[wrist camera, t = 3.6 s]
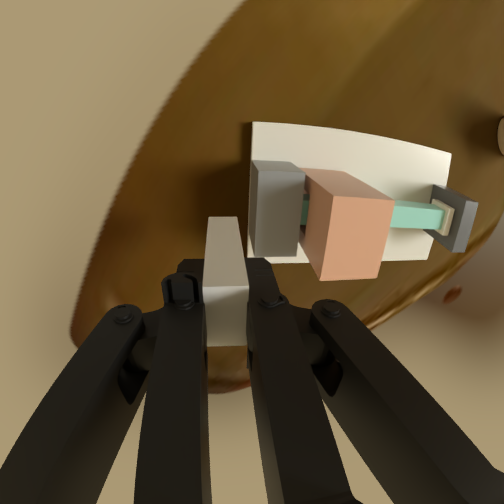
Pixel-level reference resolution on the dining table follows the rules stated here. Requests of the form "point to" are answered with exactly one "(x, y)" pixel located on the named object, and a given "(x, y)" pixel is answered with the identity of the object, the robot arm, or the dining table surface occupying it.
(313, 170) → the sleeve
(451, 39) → the dining table surface
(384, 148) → the block slider assembly
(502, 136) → the candle
